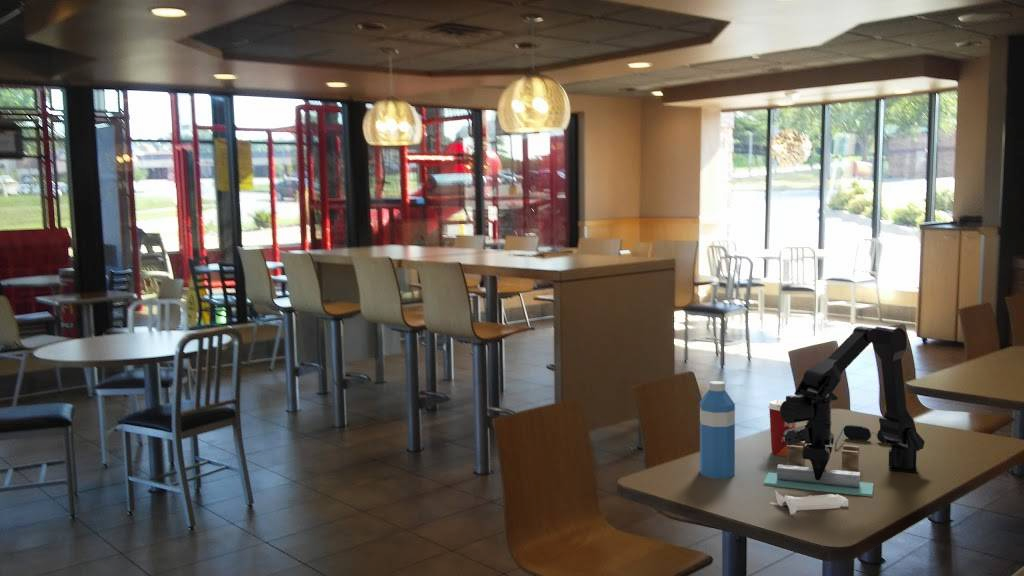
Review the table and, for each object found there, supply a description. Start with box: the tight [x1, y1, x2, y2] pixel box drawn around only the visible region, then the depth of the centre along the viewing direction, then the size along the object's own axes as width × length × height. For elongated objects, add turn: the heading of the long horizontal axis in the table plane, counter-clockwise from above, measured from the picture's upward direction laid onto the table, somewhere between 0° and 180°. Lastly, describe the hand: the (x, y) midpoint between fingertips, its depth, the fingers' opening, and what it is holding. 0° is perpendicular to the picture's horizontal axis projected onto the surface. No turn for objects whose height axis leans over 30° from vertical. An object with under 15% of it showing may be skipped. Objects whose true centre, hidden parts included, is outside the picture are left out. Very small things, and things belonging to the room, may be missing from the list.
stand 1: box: [786, 441, 806, 467], centre depth 239 cm, size 4×6×6 cm, turn 156°
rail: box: [776, 464, 861, 487], centre depth 224 cm, size 20×3×3 cm, turn 66°
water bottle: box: [699, 380, 736, 479], centre depth 234 cm, size 9×9×25 cm
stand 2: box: [841, 444, 860, 472], centre depth 234 cm, size 4×6×6 cm, turn 156°
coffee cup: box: [767, 399, 797, 457], centre depth 252 cm, size 8×8×15 cm
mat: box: [763, 472, 874, 497], centre depth 224 cm, size 26×9×1 cm, turn 66°
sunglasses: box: [834, 424, 886, 451], centre depth 256 cm, size 17×15×5 cm
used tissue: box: [769, 489, 849, 516], centre depth 207 cm, size 11×18×4 cm, turn 87°
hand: (818, 477), depth 224 cm, fingers open, 3 cm apart
